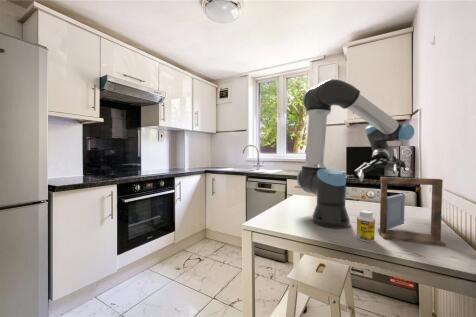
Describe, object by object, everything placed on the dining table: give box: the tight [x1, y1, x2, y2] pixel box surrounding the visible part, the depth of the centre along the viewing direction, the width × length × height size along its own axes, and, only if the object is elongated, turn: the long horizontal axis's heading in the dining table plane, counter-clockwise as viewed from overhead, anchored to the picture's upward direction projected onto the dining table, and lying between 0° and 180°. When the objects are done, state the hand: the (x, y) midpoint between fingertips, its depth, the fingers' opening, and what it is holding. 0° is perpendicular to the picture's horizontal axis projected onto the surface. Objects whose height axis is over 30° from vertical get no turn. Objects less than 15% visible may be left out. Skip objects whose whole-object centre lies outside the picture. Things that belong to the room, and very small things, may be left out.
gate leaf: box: [386, 193, 406, 230], centre depth 85 cm, size 13×2×12 cm, turn 119°
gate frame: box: [377, 176, 446, 247], centre depth 78 cm, size 18×8×22 cm, turn 69°
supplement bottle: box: [356, 209, 376, 243], centre depth 77 cm, size 6×6×10 cm
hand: (377, 176), depth 94 cm, fingers open, 13 cm apart
